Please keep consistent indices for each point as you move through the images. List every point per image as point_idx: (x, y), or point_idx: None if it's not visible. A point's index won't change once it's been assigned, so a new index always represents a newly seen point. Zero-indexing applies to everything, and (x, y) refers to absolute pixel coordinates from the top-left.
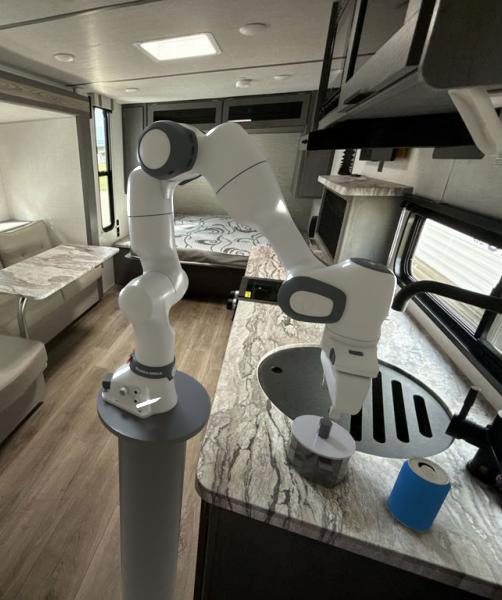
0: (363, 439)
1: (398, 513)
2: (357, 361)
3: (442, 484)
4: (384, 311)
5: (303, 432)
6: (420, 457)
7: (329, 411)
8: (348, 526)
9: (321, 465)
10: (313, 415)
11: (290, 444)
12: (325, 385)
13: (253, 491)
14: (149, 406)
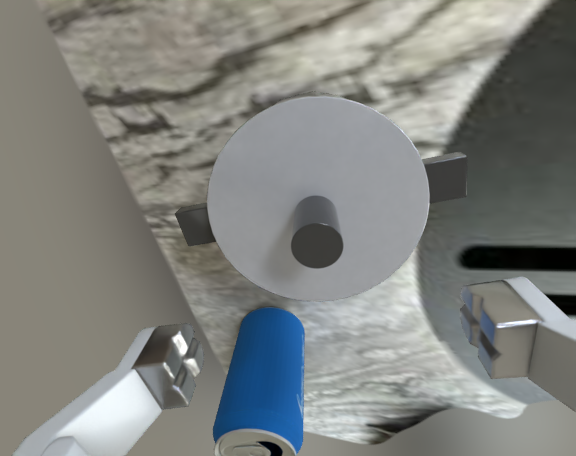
0: (471, 273)
1: (242, 326)
2: None
3: None
4: None
5: (282, 151)
6: (293, 451)
7: (149, 345)
8: (176, 247)
9: (188, 217)
10: (423, 172)
11: (274, 104)
12: (482, 319)
13: (90, 36)
14: None
